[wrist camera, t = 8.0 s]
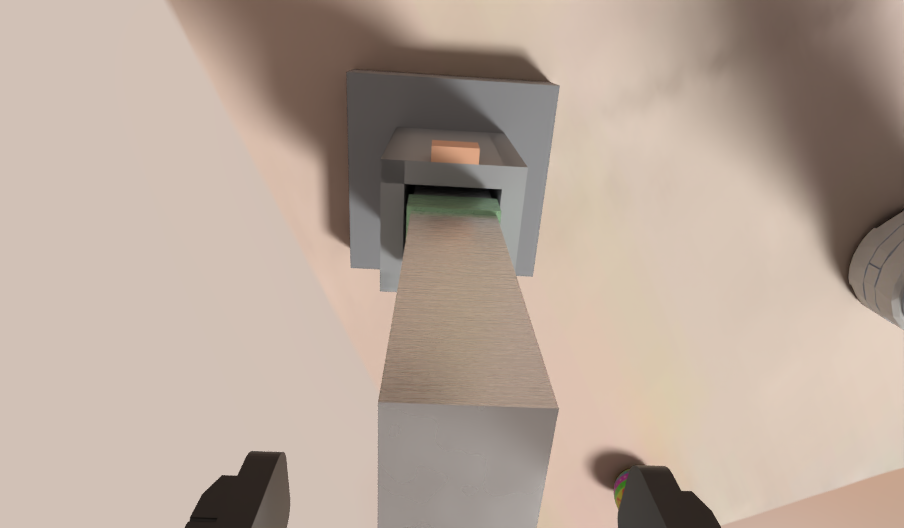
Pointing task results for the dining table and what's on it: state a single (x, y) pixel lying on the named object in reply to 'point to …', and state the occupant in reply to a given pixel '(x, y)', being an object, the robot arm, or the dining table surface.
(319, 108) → the dining table surface
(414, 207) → the column
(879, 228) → the canister
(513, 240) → the stand
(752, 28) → the dining table surface
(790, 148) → the dining table surface
